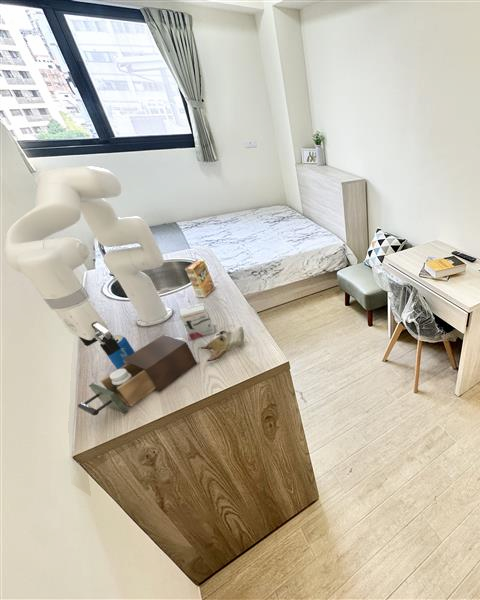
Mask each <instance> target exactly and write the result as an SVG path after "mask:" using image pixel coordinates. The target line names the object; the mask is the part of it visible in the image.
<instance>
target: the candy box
mask: <svg viewBox="0 0 480 600" xmlns="http://www.w3.org/2000/svg"><path fill="white" fill-rule="evenodd" d="M184 270H185V272H186V274H187V277H188V279H189V282H190V283H191V286H192V288H193V290H194V293H195V295H196V297H197V298H206V297H207V296H208V295H210V293H211V292H212V291H214V290H215V289H216V286H215V284H214V281H213V279H212V276H211V274H210V271H209V269H208V266H207V264H206V261H205V259H195V260H194V261H193V262H192V263H191V264H189V265H187V266H186V267H185V268H184Z"/></svg>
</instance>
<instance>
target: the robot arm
mask: <svg viewBox="0 0 480 600" xmlns="http://www.w3.org/2000/svg"><path fill="white" fill-rule="evenodd" d="M121 193H122V185H121V182H120V180H119V179H118V177H117V176H116V175H115V174H114V173H113V172H111V171H110V170H108V169H105V168H100V167H96V166H86V165H85V166H84V165H83V166H72V167H70V166H69V167H59V168H57V167H56V168H49V169H45V170H43V171H41V172H40V173H39V174H38V176H37V181H36V193H35V204H34V208H32V209H31V210H29V211H28V212H26V213H25V214H23V215H22V216H21V217H20V218H19V219H17V220H16V221H15V222H14V223H13V224H12V225H11V226H10V227H9V228H8V230H7V232H6V236H5V244H4V256H5V259H6V261H7V264H8V266H10V267H11V268H12V269H13V270H14V271H17V272H19V273H22V274H23V275H24V276H25V277H26V278H27V280H28V281H29V282H30V283H31V285H32V286H33V287H34V289H35V290H36V291H37V292H38V294H39V296H40V297H42V299H43V301H44V302H45V303H46V304H47V306H48V307H49V308H50V309H51V310H52V311H55V313H56V315H57V316H58V318H59V319H60V321H61V322H62V324H63V325H64V326H65V328H66V329H67V331H68V332H69V333H71V334H72V335H74V336H76V337H78V338H79V339H80V340H81V342H82V343H83V345H84V346H86V347H89V346H91V345H93V344H94V343H96V342H98V343H100V344H99V346H100V347H101V349H102V350H103V352H104V353H105V354H106V356H107V355H111V354H113V353H115V352H116V351H118V350H120V346H119V345H118V343H117V342H116V340H115V339H114V337H113V336H114V335H113V334H112V333H111V331H110V330H109V327H108V325H107V324H106V322H105V320H104V319H103V318H102V316H101V314H100V313H98V310H96V309H95V307H94V306H93V305H92V304H91V302H90V301H89V299H90V295H89V293H88V292H87V290H86V289H85V287H84V285H83V284H82V283H81V281H80V280H79V278H78V277H77V275H76V274H75V272H74V270H75V269H77V268H79V267H81V266H82V265H83V264H85V263H86V262H87V260H88V259H89V255H90V251H89V248H88V246H87V244H85V242H84V241H83V240H81V239H79V238H76V237H72V236H63V237H56V238H50V239H48V238H47V237H49V236H52V235H54V234H56V233H59V232H61V231H63V230H66V229H67V228H70V227H72V226H73V225H75V224H77V223H78V221H80V220H81V217H82V216H83V218H84V220H85V222H86V223H87V225H88V227H89V229H90V230H91V232H92V234H93V236H94V237H95V239H96V241H98V243H99V244H100V245H101V246H103V247H106V248H113V247H120V248H114V249H111V250H108V251H107V252H106V253H105V254H104V255H103V257H102V258H103V264H104V265H105V267H106V268H107V269H108V270H109V271H110V273H111V274H112V275H113V276H114V277H115V279H116V280H117V281H118V283H119V285H120V286H121V288H122V289H123V291H124V293H125V295H126V296H127V298H128V300H129V302H130V304H131V305H132V307H133V309H134V310H135V313H136V314H137V316H138V317H136V324H137V325H138V326H141V327H150V326H156V325H158V324H161V323H163V322H165V321H167V320H168V319H170V318H171V316H172V315H173V310H172V308H170V307H168V306H165V304H164V301H163V300H162V298H161V296H160V294H159V292H158V290H157V288H156V286H155V284H154V282H153V281H152V278H151V277H150V276H149V275H148V274H146V273H145V272H143V271H148V270H153V269H157V268H161V267H162V266H163V265H164V263H165V261H164V256H163V253H162V251H161V249H160V246H159V244H158V243H157V240H156V239H155V236H154V234H153V231H152V230H151V228H150V226H149V225H148V223H147V222H146V220H145V219H143V218H141V217H139V216H127V217H119V216H118V214H117V213H116V211H115V210H114V208H113V206H112V204H111V203H110V202H109V201H108V200H107V199H110V198H117V197H119V196H120V195H121ZM81 215H82V216H81ZM46 238H47V239H46ZM135 244H138V245H135ZM129 245H133V246H129ZM121 246H122V247H121ZM123 246H126V247H123ZM100 336H102V338H101V337H100Z"/></svg>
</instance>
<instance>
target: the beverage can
mask: <svg viewBox="0 0 480 600" xmlns="http://www.w3.org/2000/svg"><path fill="white" fill-rule="evenodd" d="M113 337H114V339H115V340H116V342H117V343H118V345H119V346H120V350H118V351H116V352H115V353H113V354H111V355H107V354H106V356H107V357H108V358H109V360H110V362H111V363H112V364H113V366H114V367H115V369H116V370H118V369H119V368H121V367H122V366H124V365H125V363H124V361H123V359H125V358H127V357H128V356H130V355H131V354H133V353H135V352H136V351H135V350H134V349H133V347H132V345H131V344H130V342H129V341H128V339H127V337H126V336H123V335H122V334H114V335H113Z"/></svg>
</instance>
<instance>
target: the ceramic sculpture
mask: <svg viewBox="0 0 480 600" xmlns="http://www.w3.org/2000/svg"><path fill="white" fill-rule="evenodd" d="M244 339H245V333H244V329H243V326H239V327H235V328H234V329H233V330H231V331H228V330H221V331H219V333H217V334H215V335H213V336H212V337H211V339H210V340H209V342H208V343H207V344H206V345H204V346H203V345H202V346H201V347H200V349H201V350H206V351H207V350H209V351H210V350H212V351H213V352H212V353H210V356H209V357H208V359H207V360H206V362H208V363H209V362H213V361H217V360H220V359H221V358H222V357H223V356H224V355H225V354H226V353H227V352H230V351H231V350H233V349H234V348H237V347H243V346H244V341H245V340H244Z"/></svg>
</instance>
